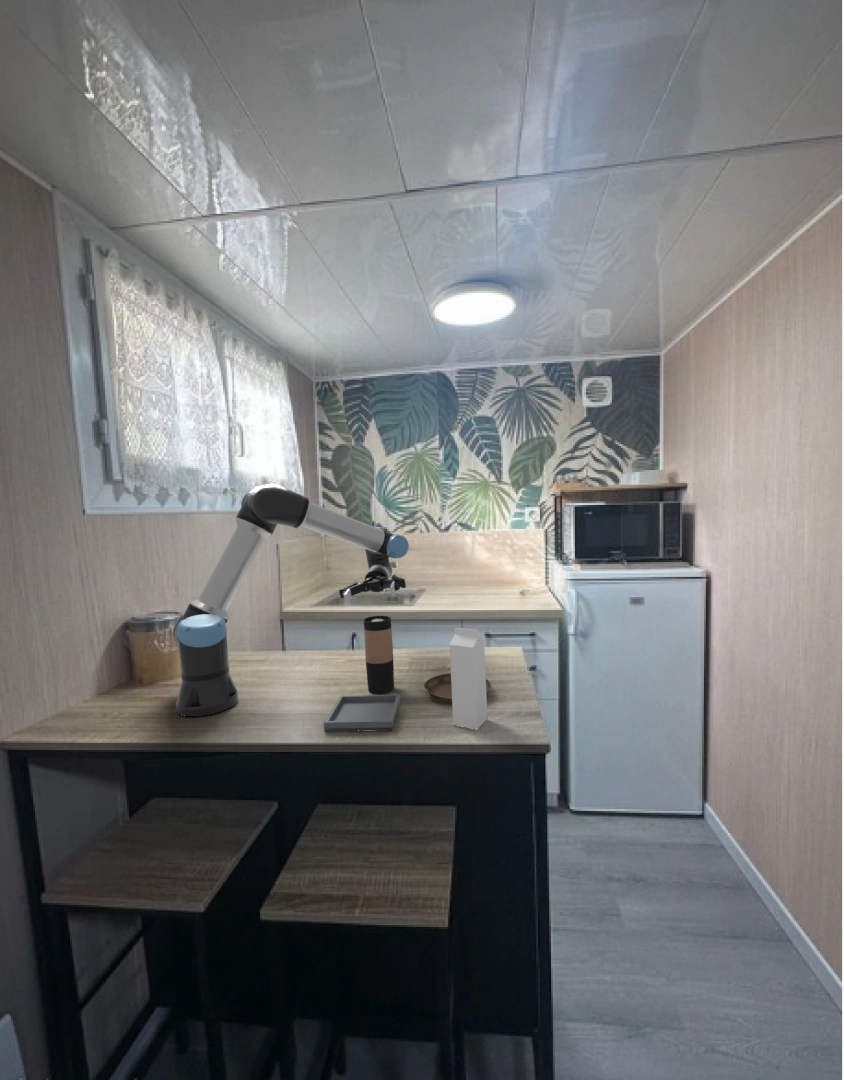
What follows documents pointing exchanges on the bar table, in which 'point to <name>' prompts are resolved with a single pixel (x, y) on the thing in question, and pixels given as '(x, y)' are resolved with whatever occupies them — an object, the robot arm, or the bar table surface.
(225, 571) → the robot arm
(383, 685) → the travel mug
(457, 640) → the milk
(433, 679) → the plant saucer
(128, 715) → the bar table surface
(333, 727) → the tray
